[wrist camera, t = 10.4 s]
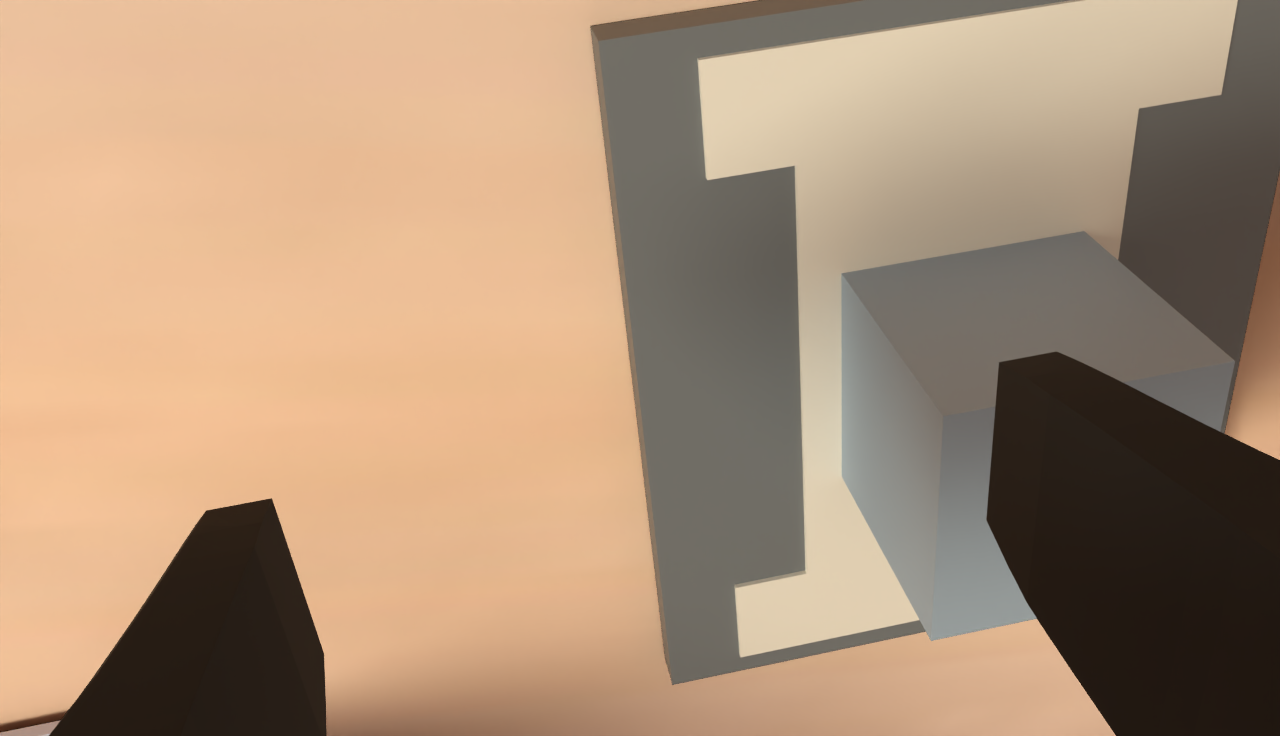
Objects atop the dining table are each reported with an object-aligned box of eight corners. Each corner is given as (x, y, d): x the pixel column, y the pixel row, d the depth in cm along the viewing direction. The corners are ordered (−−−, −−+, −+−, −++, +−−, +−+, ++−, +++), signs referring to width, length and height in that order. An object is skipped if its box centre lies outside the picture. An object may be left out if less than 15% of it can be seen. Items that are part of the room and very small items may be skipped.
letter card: (665, 658, 26) (673, 688, 26) (590, 26, 19) (599, 43, 18) (1175, 551, 28) (1197, 577, 27) (1297, -81, 20) (1334, -70, 19)
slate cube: (842, 477, 23) (931, 640, 20) (841, 273, 21) (942, 416, 17) (1059, 435, 24) (1188, 587, 20) (1084, 231, 21) (1235, 361, 18)
